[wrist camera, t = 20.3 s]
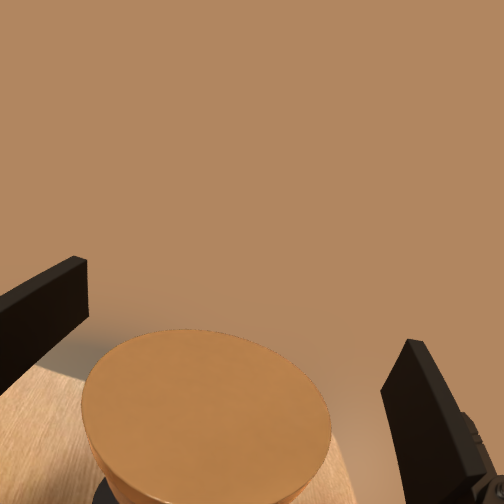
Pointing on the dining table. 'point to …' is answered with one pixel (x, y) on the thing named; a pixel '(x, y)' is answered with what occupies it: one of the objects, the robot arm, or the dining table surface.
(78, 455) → the dining table surface
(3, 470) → the dining table surface
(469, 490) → the robot arm
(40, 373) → the dining table surface
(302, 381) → the jar
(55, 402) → the dining table surface
